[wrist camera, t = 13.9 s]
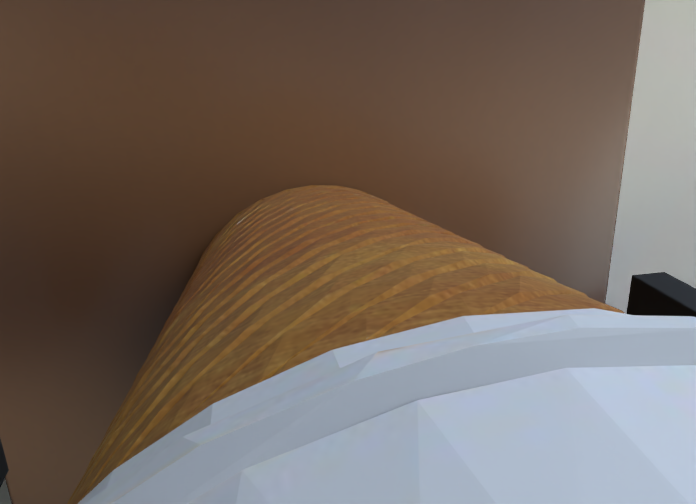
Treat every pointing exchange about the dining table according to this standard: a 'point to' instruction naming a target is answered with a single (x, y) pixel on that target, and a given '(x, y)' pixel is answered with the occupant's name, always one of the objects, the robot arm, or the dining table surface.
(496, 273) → the disposable coffee cup
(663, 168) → the dining table surface
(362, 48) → the board
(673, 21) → the dining table surface
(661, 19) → the dining table surface
